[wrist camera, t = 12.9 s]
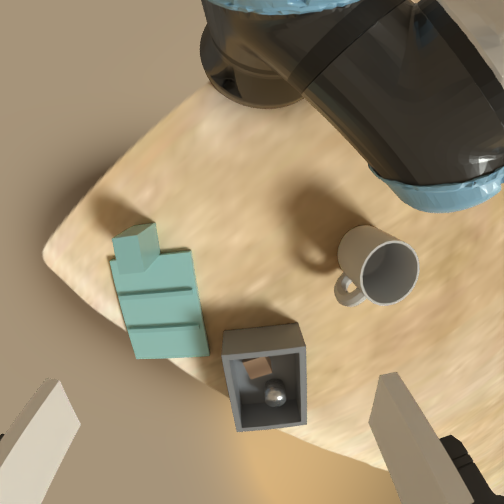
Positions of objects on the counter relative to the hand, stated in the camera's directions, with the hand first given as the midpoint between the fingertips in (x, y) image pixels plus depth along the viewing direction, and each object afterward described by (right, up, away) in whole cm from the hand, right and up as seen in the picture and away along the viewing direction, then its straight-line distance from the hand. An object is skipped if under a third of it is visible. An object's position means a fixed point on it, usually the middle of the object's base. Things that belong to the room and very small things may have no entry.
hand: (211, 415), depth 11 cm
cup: (+15, +5, +29) cm, 33 cm away
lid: (-11, +1, +29) cm, 31 cm away
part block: (+2, -8, +31) cm, 32 cm away
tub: (+3, -10, +32) cm, 34 cm away
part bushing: (+5, -13, +32) cm, 35 cm away
